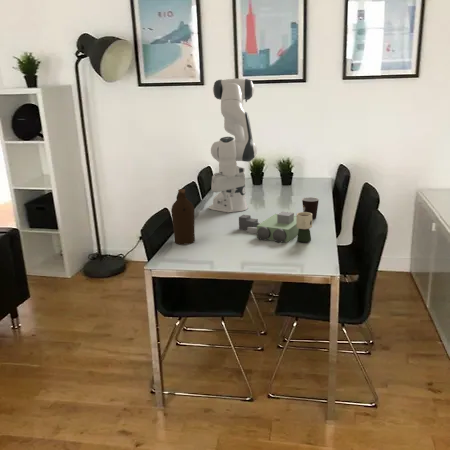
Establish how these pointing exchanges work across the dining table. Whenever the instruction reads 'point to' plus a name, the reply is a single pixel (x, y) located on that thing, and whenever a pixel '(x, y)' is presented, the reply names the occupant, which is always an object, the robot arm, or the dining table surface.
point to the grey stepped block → (247, 222)
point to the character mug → (304, 226)
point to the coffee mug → (310, 205)
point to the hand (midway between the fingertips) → (228, 197)
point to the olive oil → (183, 219)
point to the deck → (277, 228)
